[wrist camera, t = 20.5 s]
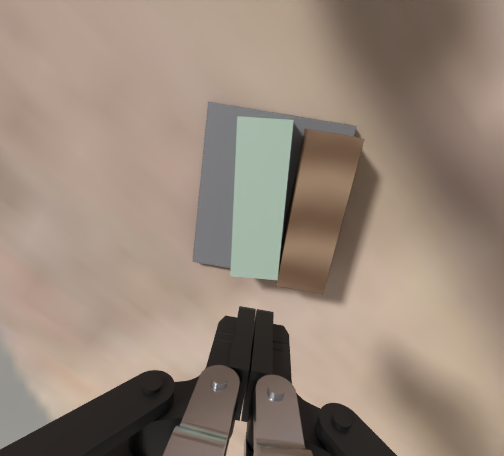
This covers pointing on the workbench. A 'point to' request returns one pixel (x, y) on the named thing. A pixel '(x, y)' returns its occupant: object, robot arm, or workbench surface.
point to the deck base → (223, 176)
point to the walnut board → (317, 208)
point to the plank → (259, 195)
